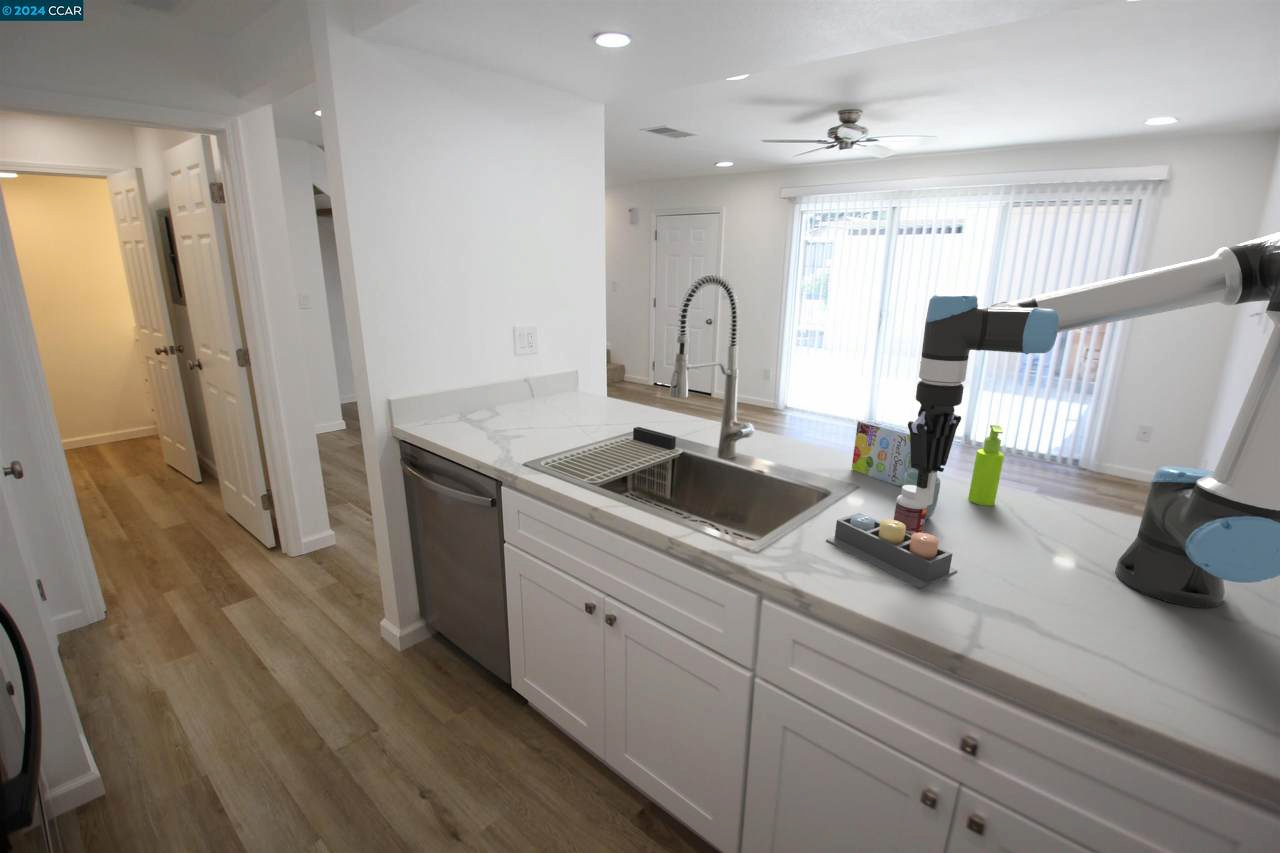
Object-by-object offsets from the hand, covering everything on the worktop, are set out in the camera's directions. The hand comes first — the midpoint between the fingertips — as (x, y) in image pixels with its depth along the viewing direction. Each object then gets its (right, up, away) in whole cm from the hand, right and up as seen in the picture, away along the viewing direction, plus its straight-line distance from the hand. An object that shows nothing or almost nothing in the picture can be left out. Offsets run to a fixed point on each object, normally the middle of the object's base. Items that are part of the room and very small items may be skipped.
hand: (923, 502), depth 110 cm
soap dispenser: (+33, -5, +36) cm, 49 cm away
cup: (+12, -7, +27) cm, 30 cm away
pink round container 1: (0, -11, +2) cm, 11 cm away
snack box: (+15, -1, +51) cm, 53 cm away
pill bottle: (+5, -10, +17) cm, 20 cm away
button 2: (-3, -10, +7) cm, 12 cm away
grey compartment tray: (-3, -12, +8) cm, 15 cm away
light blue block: (-7, -10, +13) cm, 18 cm away
